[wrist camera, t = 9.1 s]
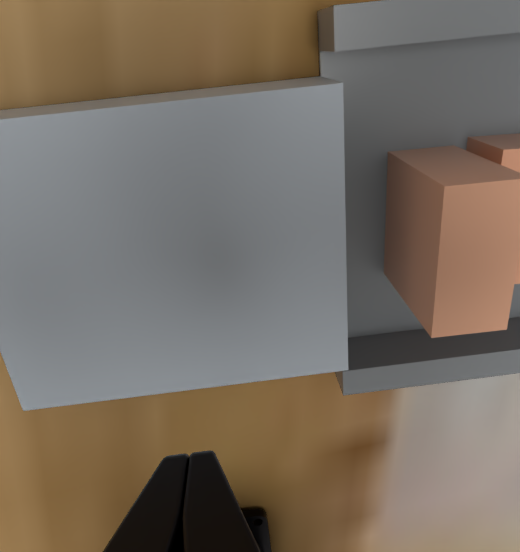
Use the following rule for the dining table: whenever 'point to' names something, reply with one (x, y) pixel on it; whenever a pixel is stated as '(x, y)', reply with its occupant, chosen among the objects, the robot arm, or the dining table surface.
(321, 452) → the dining table surface
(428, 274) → the tile
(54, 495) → the dining table surface
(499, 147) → the tile
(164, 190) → the light grey slab
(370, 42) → the tray
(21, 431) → the dining table surface
